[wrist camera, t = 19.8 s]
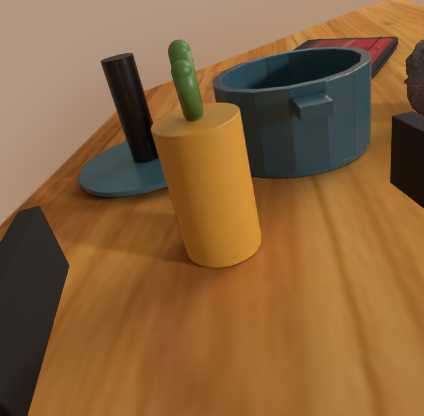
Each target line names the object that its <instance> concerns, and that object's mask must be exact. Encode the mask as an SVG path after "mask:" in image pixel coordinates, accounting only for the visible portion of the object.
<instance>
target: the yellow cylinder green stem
mask: <svg viewBox="0 0 424 416" xmlns="http://www.w3.org/2000/svg"><path fill="white" fill-rule="evenodd" d="M168 54H169V59H170V63H171V67H172V68H171V74H172V77H173V81H174V84H175V87H176V91H177V94H178V97H179V100H180V104H181V108H182V109H180V110H177V111H174V112H172V113H169V114H167V115H165V116H163V117H162V118H160V119H158V120H157V121H156V122H155V123H154V124H153V125H152V127H151V132H152V136H153V139H154V142H155V146H156V149H157V153H158V156H159V159H160V163H161V166H162V170H163V173H164V176H165V180H166V183H167V186H168V190H169V193H170V197H171V200H172V203H173V207H174V210H175V214H176V217H177V220H178V224H179V227H180V230H181V234H182V237H183V241H184V244H185V247H186V251H187V254H188V256H189V258H190V259H191V260H192V261H193V262H194V263H196V264H198V265H201V266H204V267H210V268H221V267H227V266H232V265H235V264H238V263H240V262H242V261H244V260H246V259H248V258H249V257H250V256H252V255H253V254H254V253H255V252H256V251H257V249H258V248H259V246H260V243H261V232H260V226H259V220H258V214H257V209H256V203H255V197H254V191H253V185H252V179H251V173H250V167H249V161H248V155H247V149H246V144H245V138H244V132H243V126H242V120H241V114H240V109H239V107H238V106H236V105H234V104H230V103H206V104H202V99H201V95H200V90H199V86H198V81H197V76H196V72H195V67H194V62H193V58H192V53H191V49H190V47H189V45H188V44H187V43H186V42H185V41H183V40H175V41H173V42H172V43H171V44H170V46H169V49H168Z"/></svg>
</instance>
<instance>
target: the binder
mask: <svg viewBox="0 0 424 416" xmlns="http://www.w3.org/2000/svg"><path fill="white" fill-rule="evenodd" d="M397 45H398V38H397V37H376V38H341V39H316V40H308V41H306V42H304V43H303V44H301V45H300V46H299V47H297V48H296V49H294V50H301V49H308V48H318V47H337V46H341V47H353V48H360V49H363V50H365V51H367V52H370V53H371V77H373V76H375V75H376V74H377V72H378V71H379V70H380V69H381V68H382V66H383V65H384V64H385V63H386V62H387V60H388V59H389V57H390V56H391V55H392V53H393V52H394V50H395V49H396V47H397ZM294 50H293V51H294Z"/></svg>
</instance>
